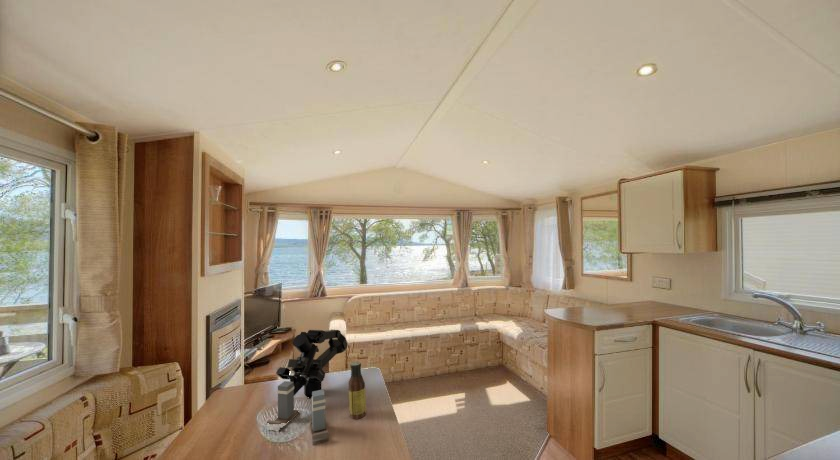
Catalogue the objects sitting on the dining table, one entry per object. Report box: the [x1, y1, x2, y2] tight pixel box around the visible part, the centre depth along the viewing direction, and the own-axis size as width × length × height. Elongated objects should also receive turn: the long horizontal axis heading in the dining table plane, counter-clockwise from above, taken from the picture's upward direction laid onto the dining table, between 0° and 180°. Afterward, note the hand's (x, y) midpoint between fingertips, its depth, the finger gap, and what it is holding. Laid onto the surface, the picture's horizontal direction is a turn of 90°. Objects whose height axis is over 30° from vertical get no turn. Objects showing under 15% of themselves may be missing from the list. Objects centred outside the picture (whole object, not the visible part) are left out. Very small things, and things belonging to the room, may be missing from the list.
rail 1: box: [266, 409, 300, 424], centre depth 114 cm, size 12×5×3 cm, turn 168°
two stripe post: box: [311, 389, 326, 432], centre depth 109 cm, size 4×4×12 cm
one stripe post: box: [276, 380, 295, 419], centre depth 116 cm, size 4×4×12 cm
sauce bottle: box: [348, 361, 367, 420], centre depth 118 cm, size 6×6×20 cm
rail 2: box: [310, 421, 329, 446], centre depth 107 cm, size 12×5×3 cm, turn 23°
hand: (291, 397), depth 119 cm, fingers closed
